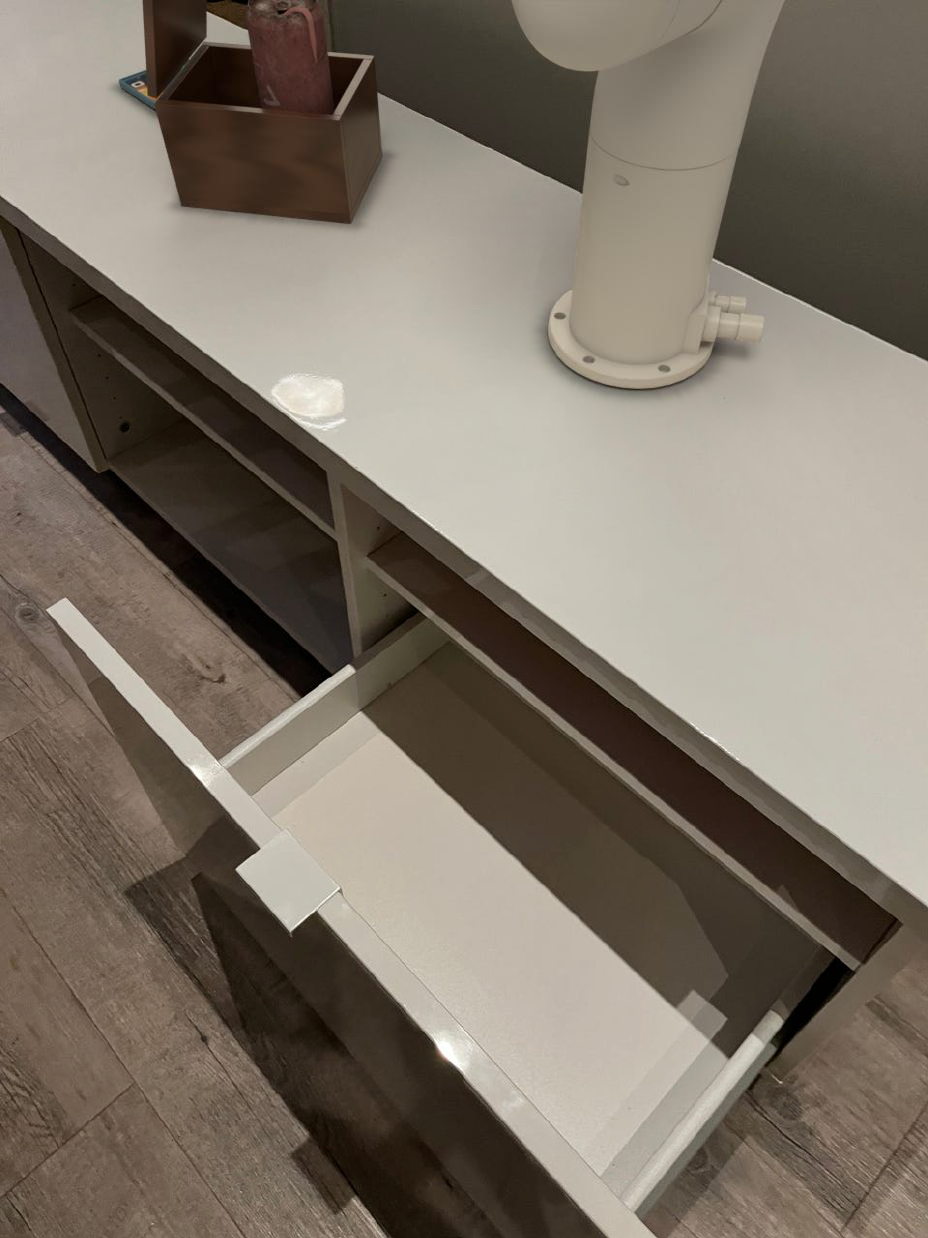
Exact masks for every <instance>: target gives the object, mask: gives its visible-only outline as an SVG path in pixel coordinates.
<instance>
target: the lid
mask: <svg viewBox="0 0 928 1238" xmlns="http://www.w3.org/2000/svg"><path fill="white" fill-rule="evenodd" d="M142 16H143V17H142V18H143V20H142V21H143V35H144V38H143V39H144V55H145V56H144V57H145V58H144V59H145V70H146V76H147V95H148V96H150V97H153V98H156V99H157V98H158V97H159V95H160V94H161V93H162V92H163V91H164V89H165V88H166V87H167V86H168V84H169V83H170V82H171V81H172V79H173V78H174V77H175V76H176V74H177V73H178V72H179V71H180V69H181V68H182V67H183V66H184V64H185V63H186V62H187V61H188V60H190V58H191V57H192V56H193V55H194V53H195V52H196V51H197V50H198V48H199V47H200V46H201V45H202V43H203V42H205V40H206V39H207V37H208V0H142Z"/></svg>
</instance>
